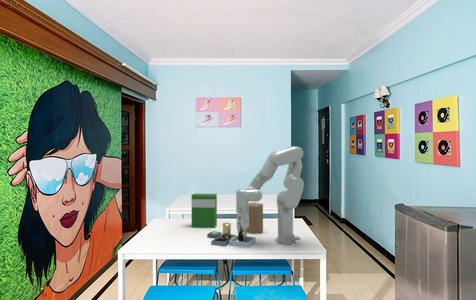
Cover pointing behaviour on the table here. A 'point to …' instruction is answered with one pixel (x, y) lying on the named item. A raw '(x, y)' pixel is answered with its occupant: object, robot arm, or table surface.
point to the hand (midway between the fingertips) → (242, 239)
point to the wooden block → (255, 218)
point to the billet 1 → (226, 230)
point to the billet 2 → (244, 235)
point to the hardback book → (204, 210)
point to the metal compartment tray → (221, 240)
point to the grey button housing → (213, 235)
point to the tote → (242, 244)
